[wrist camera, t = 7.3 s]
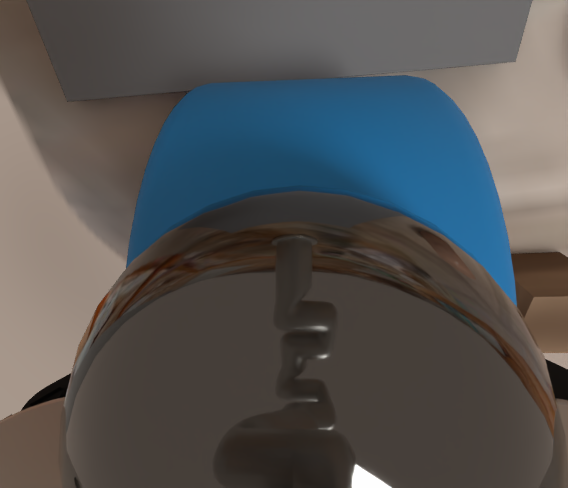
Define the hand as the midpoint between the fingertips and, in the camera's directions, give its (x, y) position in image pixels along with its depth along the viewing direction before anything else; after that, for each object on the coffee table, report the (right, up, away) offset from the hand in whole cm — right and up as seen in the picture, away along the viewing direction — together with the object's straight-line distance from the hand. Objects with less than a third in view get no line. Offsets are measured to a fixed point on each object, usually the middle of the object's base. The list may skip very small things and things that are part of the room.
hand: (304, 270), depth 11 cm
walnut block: (+14, -1, +7) cm, 15 cm away
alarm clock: (0, +3, +5) cm, 6 cm away
